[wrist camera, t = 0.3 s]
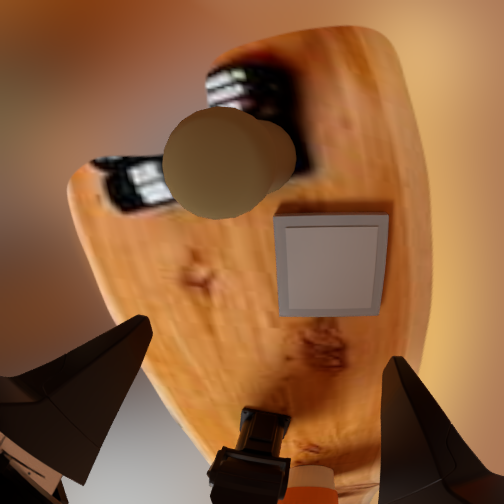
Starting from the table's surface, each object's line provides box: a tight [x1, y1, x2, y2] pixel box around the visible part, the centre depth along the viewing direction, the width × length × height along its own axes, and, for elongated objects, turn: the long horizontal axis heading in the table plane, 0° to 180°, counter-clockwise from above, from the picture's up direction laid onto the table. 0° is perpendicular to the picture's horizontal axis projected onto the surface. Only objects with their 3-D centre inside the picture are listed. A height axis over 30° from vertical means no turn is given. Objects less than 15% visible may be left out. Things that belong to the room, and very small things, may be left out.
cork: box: [162, 106, 296, 220], centre depth 15 cm, size 6×6×11 cm
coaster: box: [273, 212, 389, 317], centre depth 22 cm, size 9×9×1 cm
